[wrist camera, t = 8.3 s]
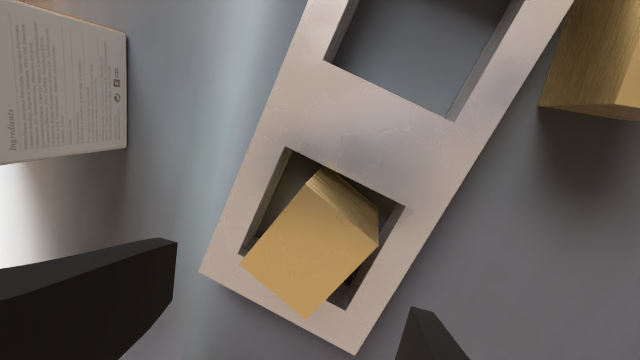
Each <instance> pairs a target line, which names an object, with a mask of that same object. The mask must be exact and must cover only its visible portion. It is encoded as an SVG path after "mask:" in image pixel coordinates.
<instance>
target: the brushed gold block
mask: <svg viewBox="0 0 640 360" xmlns="http://www.w3.org/2000/svg"><path fill="white" fill-rule="evenodd" d="M378 246H379V231H378V207H377V206H376V205H375V204H373V203H372V202H371V201H370V200H369V199H367V198H366V197H365V196H364V195H363V194H361V193H360V192H359V191H358V190H357V189H356V188H354V187H353V186H352V185H351V184H350V183H348V182H347V181H346V180H345V179H344V178H342V177H341V176H340V175H339V174H338V173H336V172H335V171H334V170H332V169H330V168H328V167H326V166H324V165H323V166H322V167H321V168H320V169H319V170H318V171H317V172H316V173H315V174H314V175H313V176H312V177H311V178H310V179H309V180H308V181H307V182H306V183H305V185H304V186H303V187H302V188H301V189H300V191H299V192H298V193H297V194H296V195H295V197H294V198H293V199H292V200H291V202H290V203H289V204H288V205H287V206H286V208H285V209H284V210H283V211H282V212H281V214H280V215H279V216H278V217H277V218H276V220H275V221H274V222H273V223H272V224H271V226H270V227H269V228H268V229H267V231H266V232H265V233H264V234H263V235H262V237H261V238H260V239H259V240H258V241H257V243H256V244H255V245H254V246H253V247H252V249H251V250H250V251H249V252H248V254H247V255H246V256H245V257H244V258H243V260H242V261H241V262H240V263H239V265H240V266H241V267H243V268H244V269H245V270H246V271H247V272H249V273H250V274H251V275H252V276H253V277H255V278H256V279H257V280H258V281H259V282H261V283H262V284H263V285H264V286H265V287H267V288H268V289H269V290H270V291H271V292H273V293H274V294H275V295H276V296H277V297H279V298H280V299H281V300H282V301H283V302H285V303H286V304H287V305H288V306H289V307H291V308H292V309H293V310H294V311H295V312H296V313H298V314H299V315H300V316H301V317H302V318H304V319H305V320H306V319H307V318H308V317H309V316H310V315H311V314H312V313H313V312H314V311H315V310H316V309H317V308H318V307H319V306H320V305H321V304H322V303H323V302H324V301H325V300H326V299H327V298H328V297H329V296H330V295H331V294H332V293H333V292H334V291H335V290H336V289H337V288H338V287H339V286H340V285H341V284H342V283H343V282H344V280H345V279H346V278H347V277H348V276H349V275H350V274H351V273H352V272H353V271H354V270H355V269H356V268H357V267H358V266H359V265H360V264H361V263H362V262H363V261H364V260H365V259H366V258H367V257H368V256H369V255H370V254H371V253H372V252H373V251H374V250H375V249H376V248H377V247H378Z"/></svg>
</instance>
